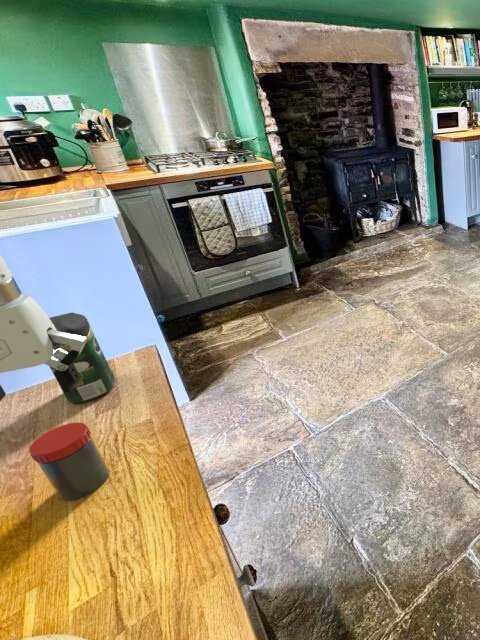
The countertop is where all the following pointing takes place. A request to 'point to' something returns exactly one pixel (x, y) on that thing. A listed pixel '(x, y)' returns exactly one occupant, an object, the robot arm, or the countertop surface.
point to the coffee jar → (85, 360)
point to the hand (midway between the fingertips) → (35, 393)
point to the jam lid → (59, 442)
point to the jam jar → (77, 472)
